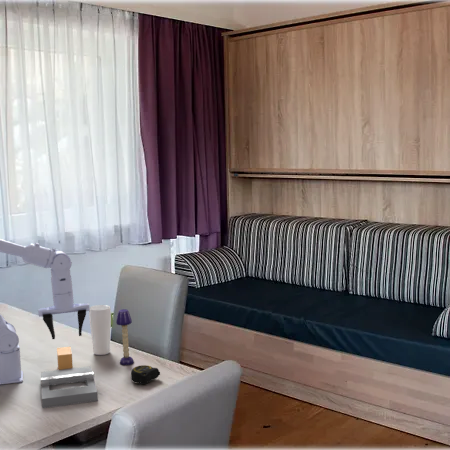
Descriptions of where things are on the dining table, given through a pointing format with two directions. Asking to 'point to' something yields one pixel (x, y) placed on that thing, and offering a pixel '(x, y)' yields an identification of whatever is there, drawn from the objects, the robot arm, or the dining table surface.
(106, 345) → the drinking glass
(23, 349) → the dining table surface
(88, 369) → the gray rectangular frame
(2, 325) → the robot arm
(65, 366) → the tall orange box
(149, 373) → the tape measure
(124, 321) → the toy lamp
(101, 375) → the dining table surface
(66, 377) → the hook bar
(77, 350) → the dining table surface
